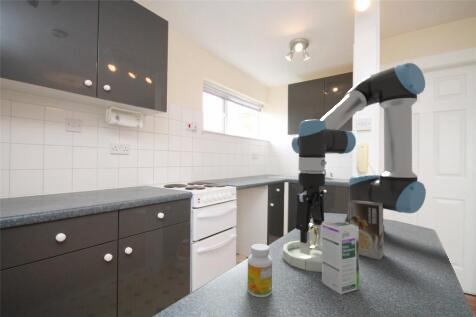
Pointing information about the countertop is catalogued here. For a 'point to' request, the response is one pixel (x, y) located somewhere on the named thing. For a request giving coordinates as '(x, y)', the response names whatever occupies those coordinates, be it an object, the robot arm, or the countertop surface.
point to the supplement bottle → (259, 271)
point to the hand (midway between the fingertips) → (310, 249)
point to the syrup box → (340, 256)
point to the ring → (317, 235)
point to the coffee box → (368, 226)
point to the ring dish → (303, 257)
